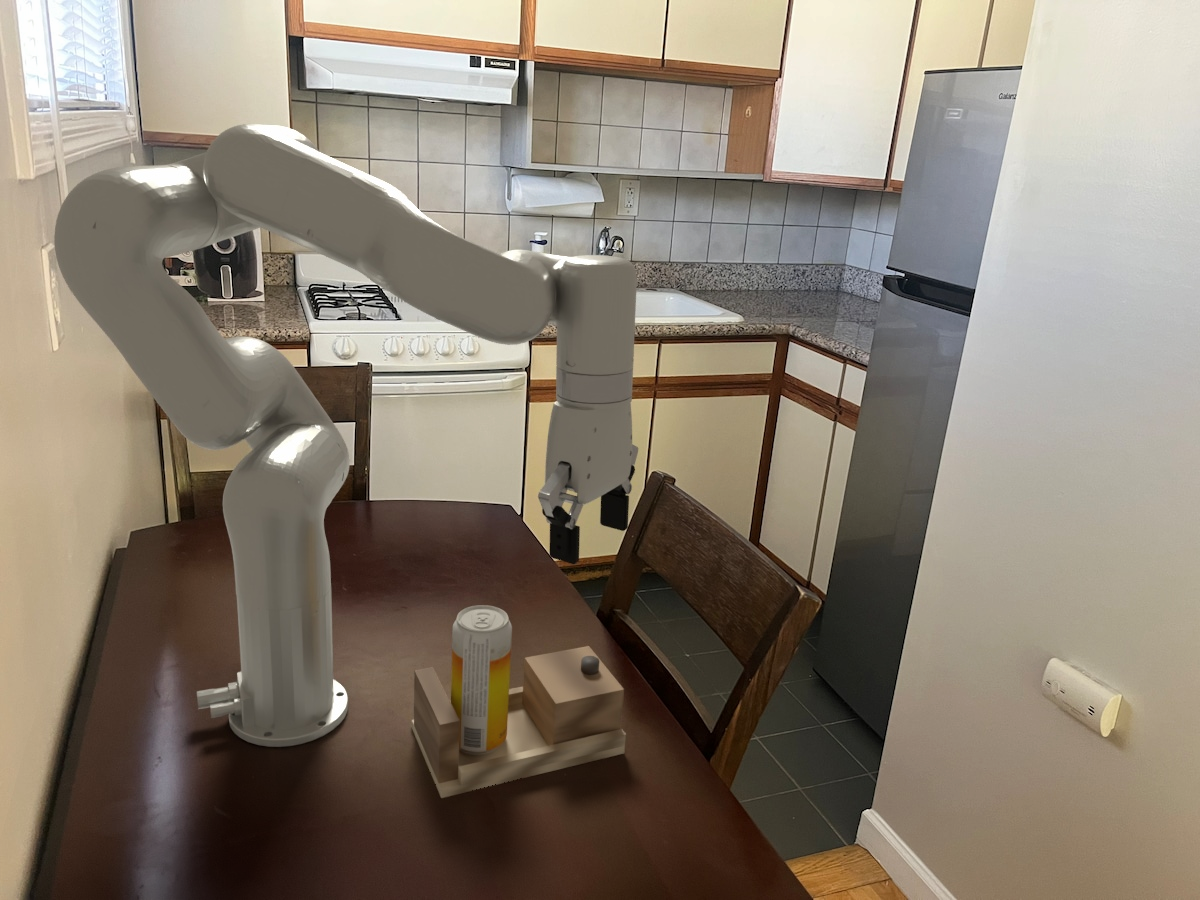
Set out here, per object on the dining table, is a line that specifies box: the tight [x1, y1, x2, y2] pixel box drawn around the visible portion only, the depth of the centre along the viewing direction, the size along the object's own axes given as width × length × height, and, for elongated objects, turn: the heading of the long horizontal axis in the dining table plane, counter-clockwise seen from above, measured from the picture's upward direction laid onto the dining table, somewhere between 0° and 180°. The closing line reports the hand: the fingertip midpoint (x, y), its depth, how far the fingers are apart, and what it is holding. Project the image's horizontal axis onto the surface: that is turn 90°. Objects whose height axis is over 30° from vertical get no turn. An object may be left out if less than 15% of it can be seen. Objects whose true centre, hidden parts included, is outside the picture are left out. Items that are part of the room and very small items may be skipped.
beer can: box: [450, 604, 513, 755], centre depth 94 cm, size 6×6×15 cm
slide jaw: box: [522, 645, 625, 746], centre depth 100 cm, size 8×9×7 cm
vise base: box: [411, 666, 627, 799], centre depth 97 cm, size 20×12×8 cm, turn 115°
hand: (590, 542), depth 93 cm, fingers open, 9 cm apart
